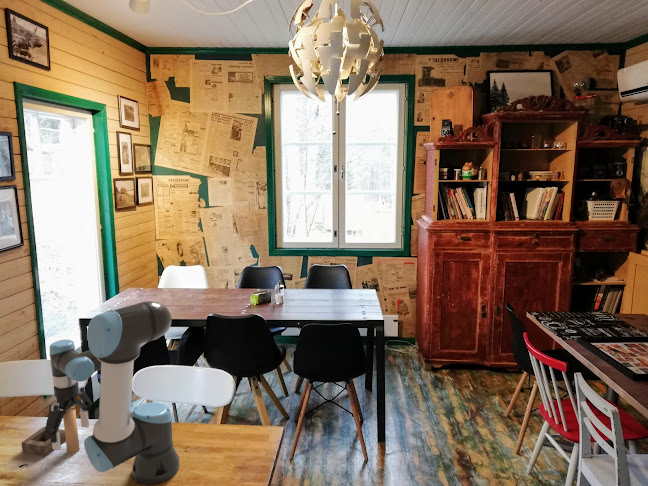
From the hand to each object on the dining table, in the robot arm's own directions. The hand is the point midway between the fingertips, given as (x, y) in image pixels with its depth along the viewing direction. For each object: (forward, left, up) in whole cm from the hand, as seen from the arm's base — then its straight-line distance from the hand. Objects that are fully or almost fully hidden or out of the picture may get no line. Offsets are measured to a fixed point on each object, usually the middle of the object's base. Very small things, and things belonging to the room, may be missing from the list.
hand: (71, 437), depth 165 cm
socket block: (+12, 0, -5) cm, 13 cm away
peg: (0, 0, -5) cm, 5 cm away
